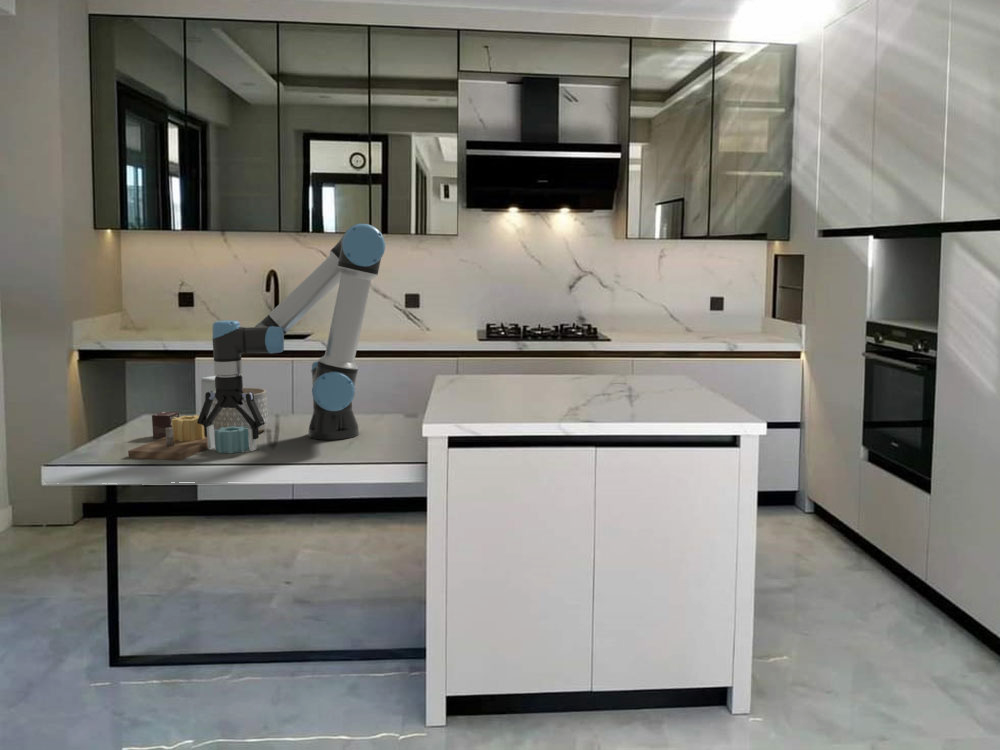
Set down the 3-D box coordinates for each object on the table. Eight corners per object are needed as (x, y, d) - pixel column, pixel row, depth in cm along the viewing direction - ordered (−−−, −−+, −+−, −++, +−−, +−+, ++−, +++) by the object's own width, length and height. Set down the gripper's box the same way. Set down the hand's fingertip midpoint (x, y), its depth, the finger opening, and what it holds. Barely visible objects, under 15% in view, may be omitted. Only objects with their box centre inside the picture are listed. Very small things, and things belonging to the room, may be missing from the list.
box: (170, 439, 282) (169, 415, 281) (152, 438, 283) (151, 415, 282) (181, 435, 288) (179, 412, 287) (163, 434, 289) (162, 411, 288)
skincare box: (201, 422, 308) (198, 377, 306) (214, 418, 313) (212, 375, 311) (220, 424, 304) (217, 379, 302) (233, 420, 309) (231, 376, 307)
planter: (211, 429, 296) (208, 390, 294) (263, 424, 302) (261, 386, 301) (217, 439, 281) (214, 397, 279) (272, 434, 287) (270, 393, 286)
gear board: (227, 440, 280) (226, 417, 279) (180, 460, 255) (179, 435, 254) (180, 438, 283) (178, 415, 282) (128, 457, 258) (126, 433, 257)
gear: (254, 447, 270) (253, 426, 269) (239, 454, 261) (238, 433, 260) (226, 445, 272) (225, 425, 271) (210, 452, 263) (209, 431, 262)
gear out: (207, 434, 279) (205, 414, 278) (202, 440, 270) (201, 420, 269) (175, 435, 277) (174, 415, 276) (170, 442, 268) (169, 421, 267)
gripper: (274, 374, 264) (277, 448, 267) (196, 372, 270) (200, 444, 273) (262, 378, 257) (265, 453, 260) (182, 376, 262) (186, 450, 265)
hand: (232, 449), depth 266 cm, fingers open, 12 cm apart
